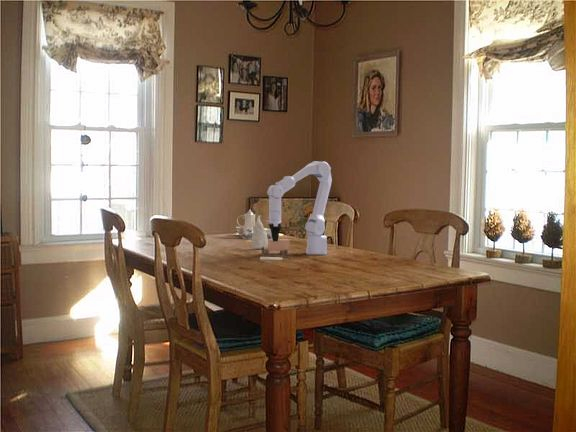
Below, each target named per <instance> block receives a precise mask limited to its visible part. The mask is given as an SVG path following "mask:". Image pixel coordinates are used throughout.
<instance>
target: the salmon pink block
mask: <svg viewBox="0 0 576 432" xmlns="http://www.w3.org/2000/svg"><path fill="white" fill-rule="evenodd" d="M290 243H291V242H290V238H289V239H288V238H278V241H273V239H268V246H267V249H268V251H269V252H280V251H285V250H288V252H289V251H291V249H290V247H291V245H290Z"/></svg>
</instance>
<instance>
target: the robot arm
mask: <svg viewBox="0 0 576 432" xmlns="http://www.w3.org/2000/svg"><path fill="white" fill-rule="evenodd" d="M331 169H332V167H331V166H330V164H329V163H328V162H327V161H318V160H317V161H316V160H314V161H312V162H310V163H308V164H307V165H305V166H304V167H303V168H301V169H300V170H298V171H297V172H296V173H294V174H293V175H292V176H290V175H287V176H286V175H285V176H283V178H282V179H281V180H279V181H277V182H275V184H272V185H270V186H269V187H268V188H267V191H266V194H267V196H268V219H267V220H266V223H269V224H268V226H269V227H268V228H269V229H271V235H272V239H273V241H278V239H279V236H280V231H281V229H282V228H283V227H282V226H281V223H282V197H283V196H284V194H285V193H286V192H288V191H290V190H291V189H292V188H294V187H295V186H296V183H297V182H298V181H301V180H302V179H303V178H305V177H307V176H309V175H313V176H315V177H316V178H317V180H318V181H319V185H318V189H317V192H316V198H315V202H314V205H313V209H312V214H310V216H309V217H308V219H307V221H306V223H305V226H304V228H305V231H306V232H307V234H306V235H307V237H306V240H307V242H306V250H305V253H306V255H328V254H327V251H328V247H327V246H328V245H327V244H328V239H327V238H328V237H327V235H323V234H325V231H326V227H325V226H326V224H325V222H326V220H325V217H324V215H325V211H326V206H327V203H328V198H329V195H330V192H331V187H332V182H333V178H332V172H331Z"/></svg>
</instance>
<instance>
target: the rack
mask: <svg viewBox="0 0 576 432" xmlns="http://www.w3.org/2000/svg"><path fill="white" fill-rule="evenodd" d="M288 252H289V251H288V250H285V251H279V252H270V251H268V248H265V249H264V247H262V249H261V257H282V258H289V255H288Z"/></svg>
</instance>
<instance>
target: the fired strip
mask: <svg viewBox="0 0 576 432" xmlns="http://www.w3.org/2000/svg"><path fill="white" fill-rule="evenodd" d="M259 260H260V261H261V260H266V261H282V260H283V257H262V256H259Z"/></svg>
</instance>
